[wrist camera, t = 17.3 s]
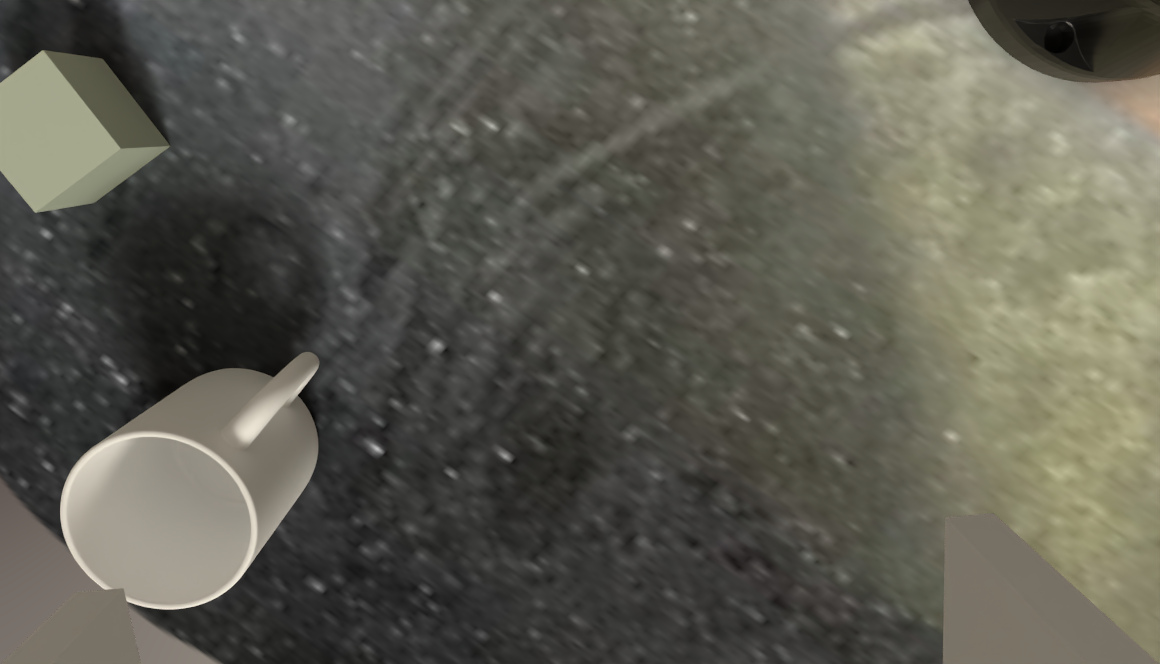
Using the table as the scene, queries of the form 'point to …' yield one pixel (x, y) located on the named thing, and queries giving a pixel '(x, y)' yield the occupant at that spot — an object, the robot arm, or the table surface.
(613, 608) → the table surface
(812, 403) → the table surface
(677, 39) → the table surface
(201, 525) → the cup
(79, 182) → the sage block
